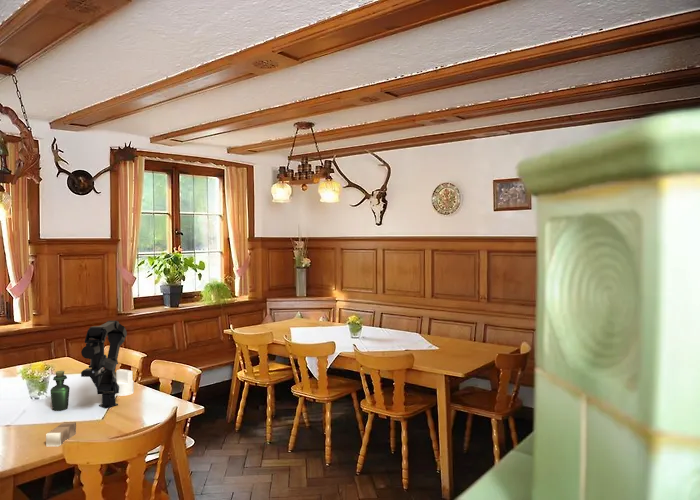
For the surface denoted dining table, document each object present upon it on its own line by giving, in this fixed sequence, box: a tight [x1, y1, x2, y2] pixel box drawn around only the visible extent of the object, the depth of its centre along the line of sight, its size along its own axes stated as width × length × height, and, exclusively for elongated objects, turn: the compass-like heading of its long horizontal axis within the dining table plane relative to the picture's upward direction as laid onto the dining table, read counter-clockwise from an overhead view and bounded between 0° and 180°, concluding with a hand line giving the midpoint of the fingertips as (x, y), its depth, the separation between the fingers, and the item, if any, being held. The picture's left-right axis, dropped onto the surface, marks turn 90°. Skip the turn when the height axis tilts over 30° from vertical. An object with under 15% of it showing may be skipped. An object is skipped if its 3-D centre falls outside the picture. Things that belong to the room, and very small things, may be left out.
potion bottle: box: [50, 370, 71, 412], centre depth 245 cm, size 8×8×18 cm
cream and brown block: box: [45, 421, 77, 448], centre depth 208 cm, size 5×5×13 cm
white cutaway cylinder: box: [115, 368, 135, 397], centre depth 270 cm, size 9×9×12 cm
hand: (97, 386), depth 237 cm, fingers closed
